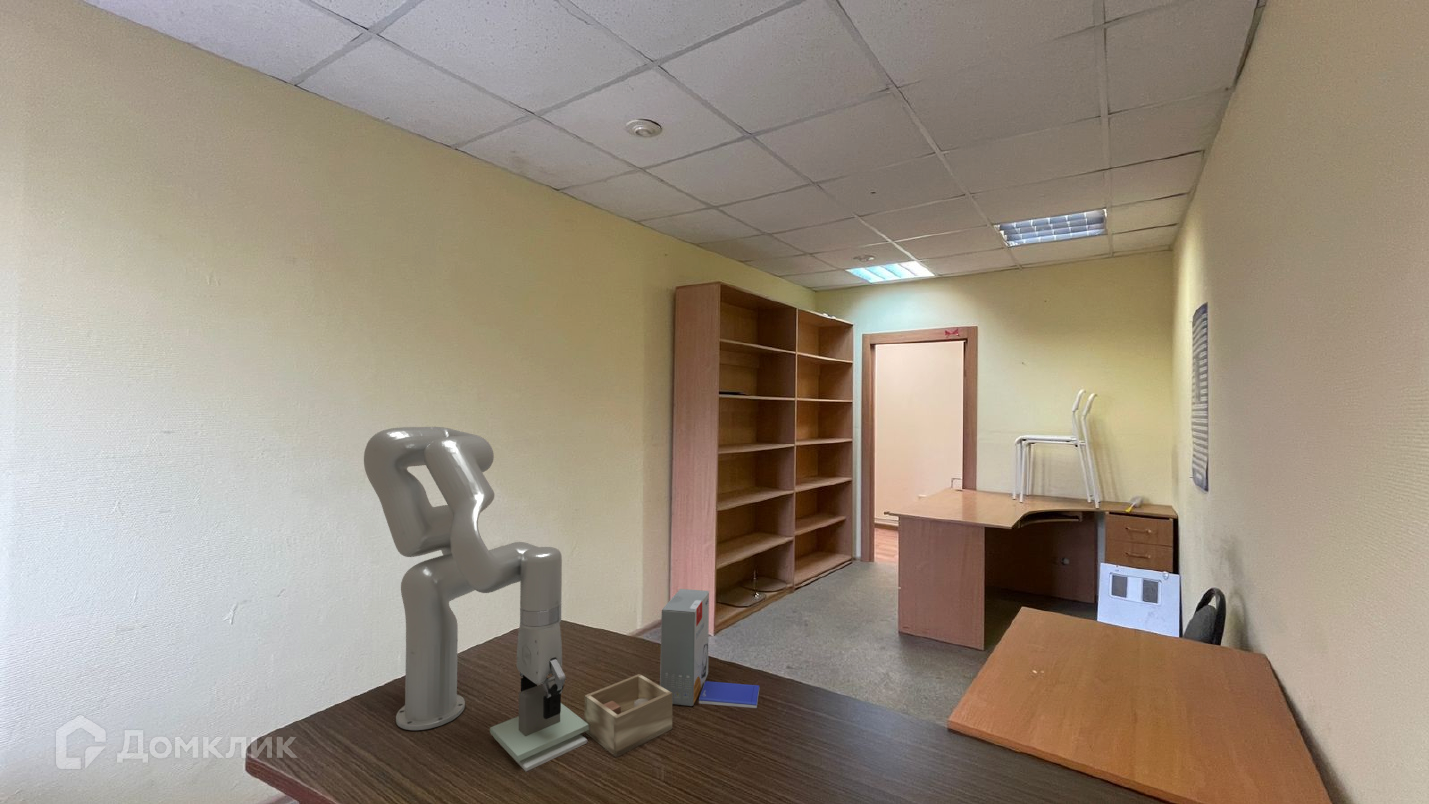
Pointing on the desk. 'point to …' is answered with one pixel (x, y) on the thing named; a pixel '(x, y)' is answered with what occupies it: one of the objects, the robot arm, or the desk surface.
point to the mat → (551, 752)
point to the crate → (628, 714)
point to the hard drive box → (685, 645)
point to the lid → (536, 726)
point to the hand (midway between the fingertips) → (540, 705)
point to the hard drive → (729, 694)
